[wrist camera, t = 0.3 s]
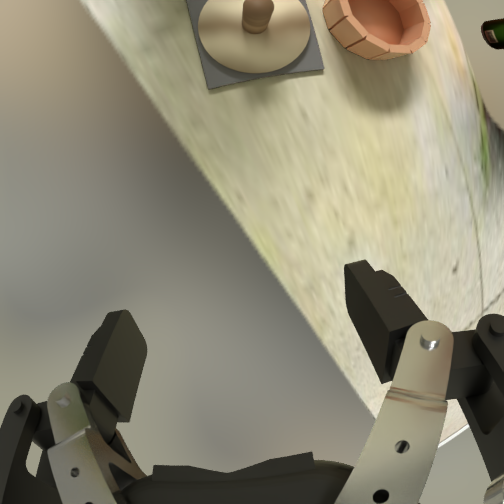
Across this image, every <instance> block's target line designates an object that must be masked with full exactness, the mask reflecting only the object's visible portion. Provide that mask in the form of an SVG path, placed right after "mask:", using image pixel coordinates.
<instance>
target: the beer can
mask: <svg viewBox="0 0 504 504" xmlns="http://www.w3.org/2000/svg"><path fill="white" fill-rule="evenodd" d="M481 32H482V35H483V38H484V40H485V41H486V42H487V44H488V45H489V46H491V47H492V48H495V49H504V18H503V19H497V20H490V21H485V22H484V23H483V24H482V26H481Z"/></svg>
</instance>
